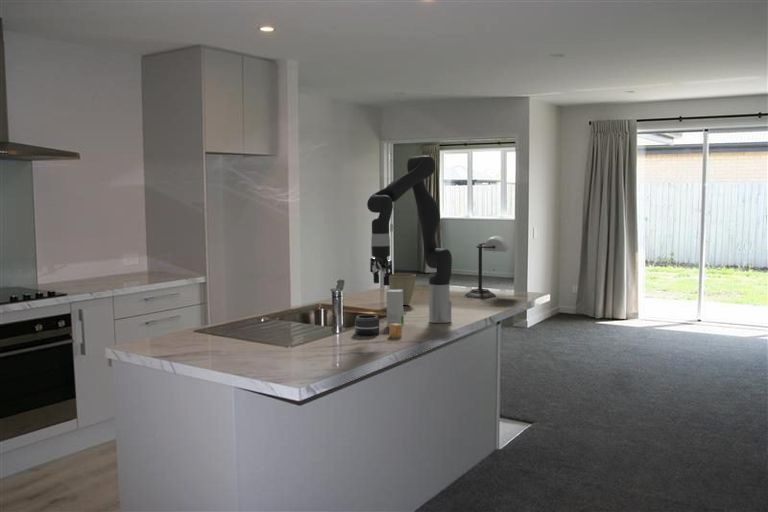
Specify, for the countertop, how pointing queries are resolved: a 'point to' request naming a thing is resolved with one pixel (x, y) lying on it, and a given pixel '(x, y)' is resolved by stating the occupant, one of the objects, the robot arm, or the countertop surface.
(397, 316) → the skincare box
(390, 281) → the plant pot
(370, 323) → the barrel
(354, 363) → the countertop surface
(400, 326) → the wooden block
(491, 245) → the lamp
